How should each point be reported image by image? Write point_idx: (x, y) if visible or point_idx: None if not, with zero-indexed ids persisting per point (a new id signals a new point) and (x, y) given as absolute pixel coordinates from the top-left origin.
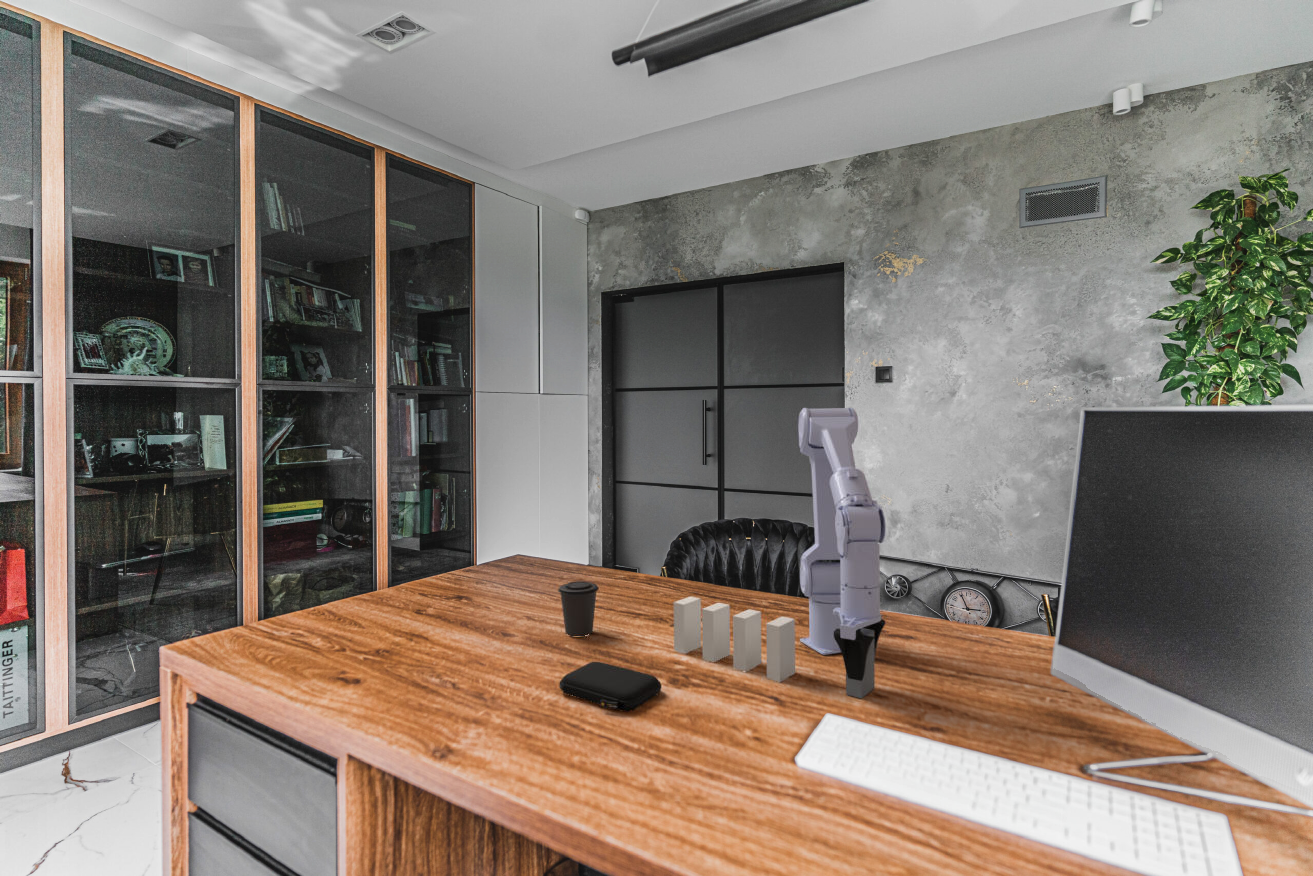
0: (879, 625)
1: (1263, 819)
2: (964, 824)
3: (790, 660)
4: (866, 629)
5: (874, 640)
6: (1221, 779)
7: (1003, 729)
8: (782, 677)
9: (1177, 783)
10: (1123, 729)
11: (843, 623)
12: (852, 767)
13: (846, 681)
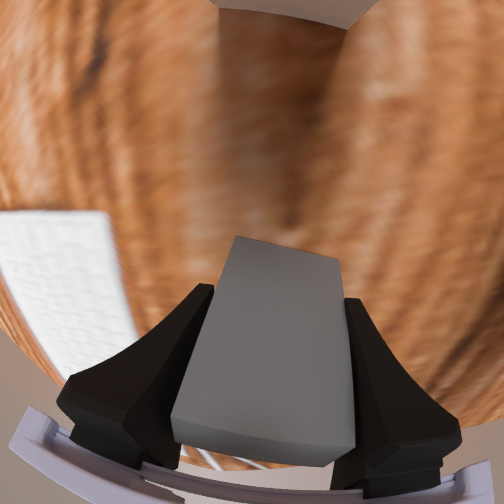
0: (333, 488)
1: (197, 462)
2: (42, 355)
3: (309, 4)
4: (324, 459)
5: None
6: (238, 468)
7: None
8: (236, 6)
9: (214, 458)
10: None
11: (39, 464)
12: (20, 280)
13: (226, 261)
